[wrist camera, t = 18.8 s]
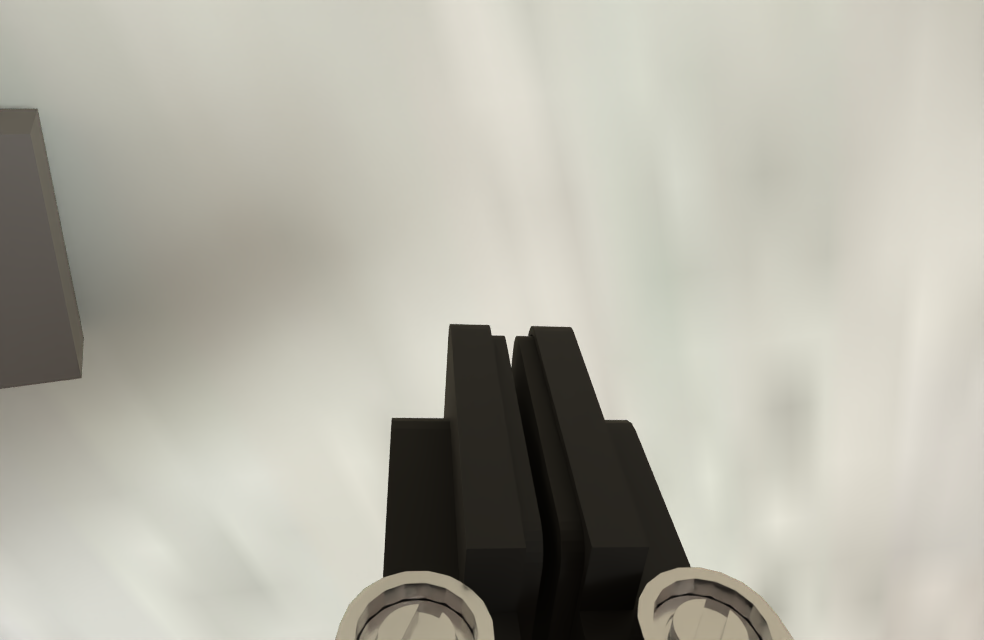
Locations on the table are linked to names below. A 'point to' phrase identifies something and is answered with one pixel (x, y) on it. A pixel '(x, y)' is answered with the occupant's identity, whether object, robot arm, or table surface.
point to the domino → (33, 264)
